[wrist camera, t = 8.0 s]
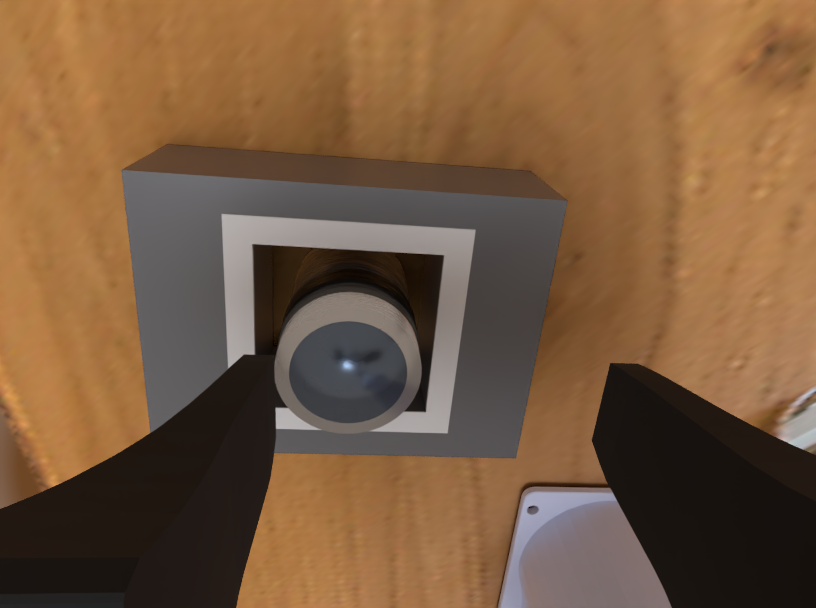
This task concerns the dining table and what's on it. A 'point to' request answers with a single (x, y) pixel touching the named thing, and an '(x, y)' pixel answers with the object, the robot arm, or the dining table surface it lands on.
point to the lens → (348, 342)
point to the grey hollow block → (353, 230)
